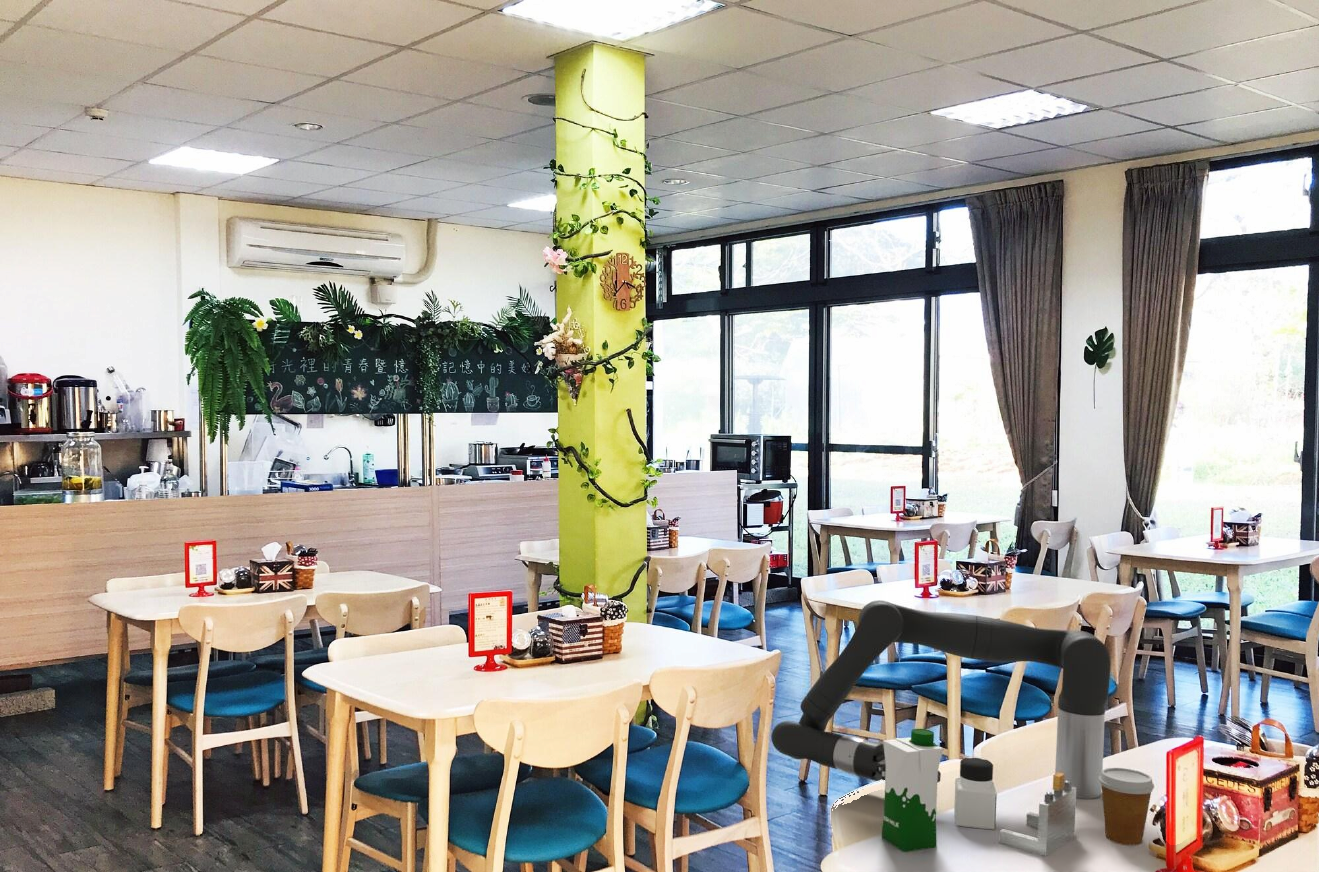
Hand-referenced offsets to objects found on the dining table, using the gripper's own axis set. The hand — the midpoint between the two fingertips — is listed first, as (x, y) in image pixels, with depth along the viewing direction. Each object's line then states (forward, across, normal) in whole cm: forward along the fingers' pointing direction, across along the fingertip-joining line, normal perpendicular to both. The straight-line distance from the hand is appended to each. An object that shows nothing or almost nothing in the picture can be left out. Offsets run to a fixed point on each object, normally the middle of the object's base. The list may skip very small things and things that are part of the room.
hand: (938, 777), depth 220 cm
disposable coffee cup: (+32, +12, +7) cm, 34 cm away
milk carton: (+4, -19, +7) cm, 20 cm away
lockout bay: (+20, 0, +7) cm, 21 cm away
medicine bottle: (+8, 0, +7) cm, 10 cm away
